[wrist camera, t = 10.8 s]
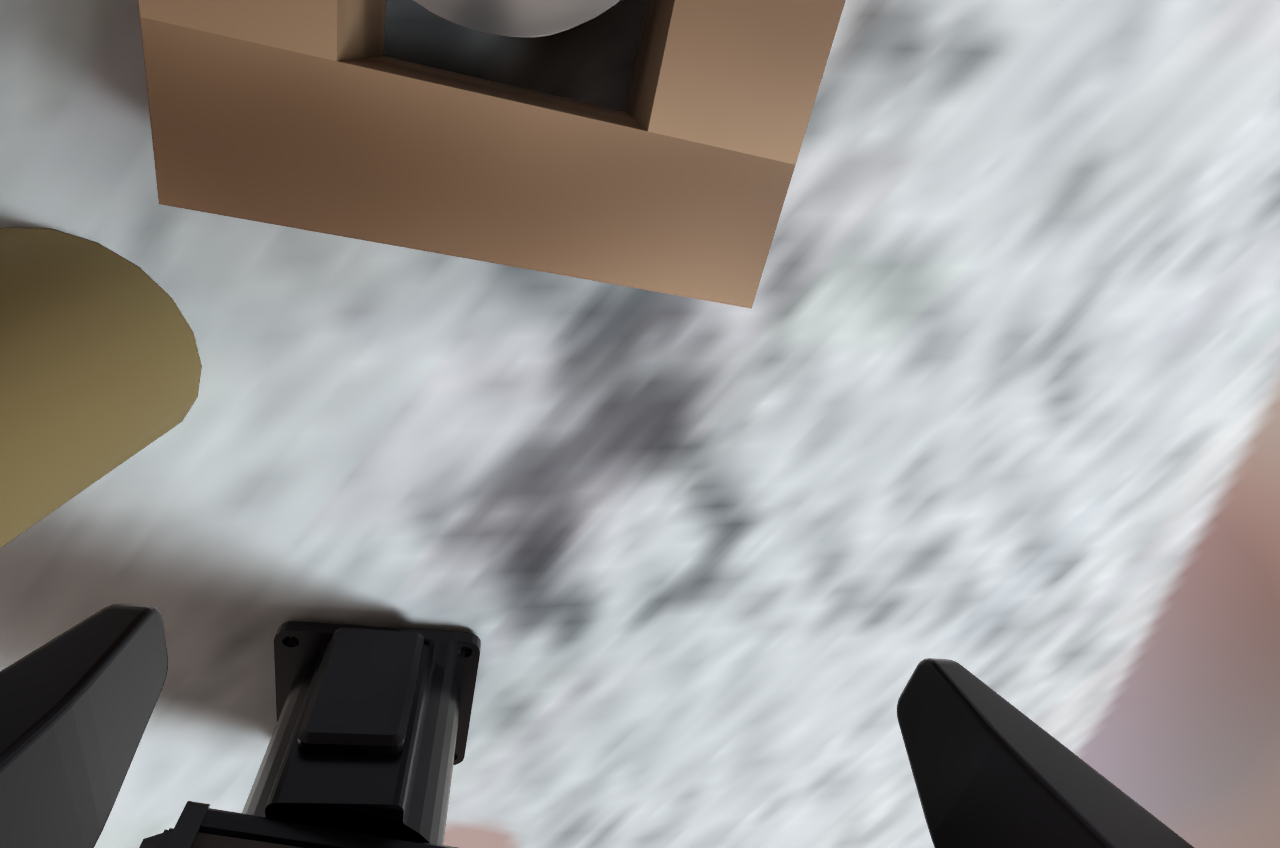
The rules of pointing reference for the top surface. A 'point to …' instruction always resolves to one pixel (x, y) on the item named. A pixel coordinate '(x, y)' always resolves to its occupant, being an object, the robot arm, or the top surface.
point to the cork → (81, 369)
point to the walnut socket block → (493, 138)
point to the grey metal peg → (518, 15)
